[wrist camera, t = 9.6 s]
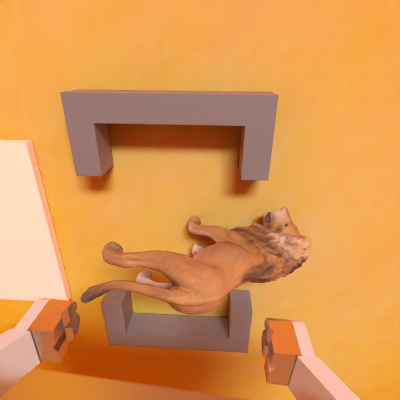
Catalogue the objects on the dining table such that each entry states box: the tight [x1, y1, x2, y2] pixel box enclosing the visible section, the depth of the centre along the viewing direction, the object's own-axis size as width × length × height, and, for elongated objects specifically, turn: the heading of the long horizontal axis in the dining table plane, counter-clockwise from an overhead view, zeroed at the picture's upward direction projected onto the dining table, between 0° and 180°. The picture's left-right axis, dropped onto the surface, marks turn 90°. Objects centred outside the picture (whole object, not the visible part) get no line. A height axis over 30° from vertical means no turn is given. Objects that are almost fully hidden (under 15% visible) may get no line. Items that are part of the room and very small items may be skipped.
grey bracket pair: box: [60, 90, 278, 353], centre depth 19 cm, size 11×19×2 cm, turn 0°
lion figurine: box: [81, 208, 311, 314], centre depth 15 cm, size 12×4×7 cm
